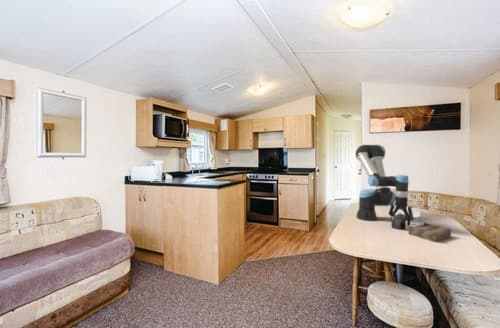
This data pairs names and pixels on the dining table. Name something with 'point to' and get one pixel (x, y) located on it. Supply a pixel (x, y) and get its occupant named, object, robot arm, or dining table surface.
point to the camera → (399, 221)
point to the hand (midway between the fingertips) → (400, 227)
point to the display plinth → (430, 232)
